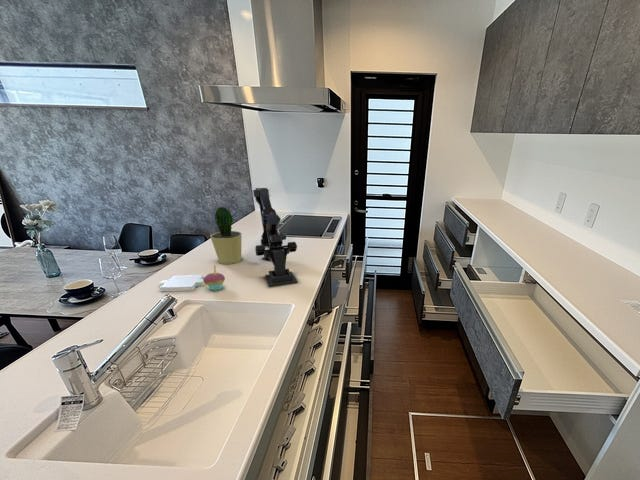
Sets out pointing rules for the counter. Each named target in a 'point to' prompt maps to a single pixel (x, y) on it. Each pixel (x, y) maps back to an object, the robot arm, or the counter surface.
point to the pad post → (279, 262)
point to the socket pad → (280, 279)
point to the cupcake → (214, 280)
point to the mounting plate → (182, 283)
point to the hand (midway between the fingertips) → (279, 264)
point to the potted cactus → (226, 238)
